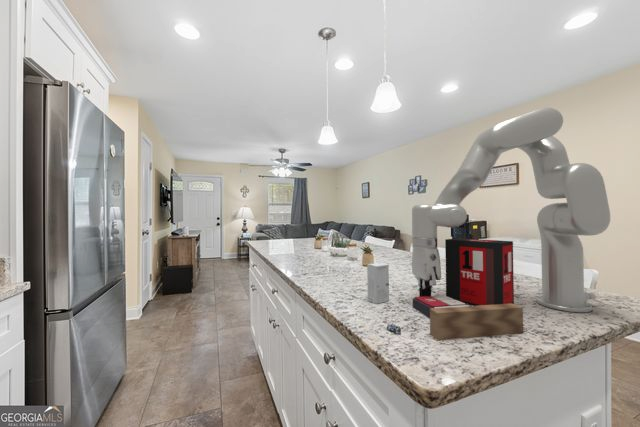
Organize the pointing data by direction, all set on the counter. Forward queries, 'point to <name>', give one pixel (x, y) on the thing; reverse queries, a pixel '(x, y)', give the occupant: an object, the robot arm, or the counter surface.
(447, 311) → the walnut board
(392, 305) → the counter surface
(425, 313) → the calculator
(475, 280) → the cleaning product box
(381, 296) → the skincare box
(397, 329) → the blueberries
